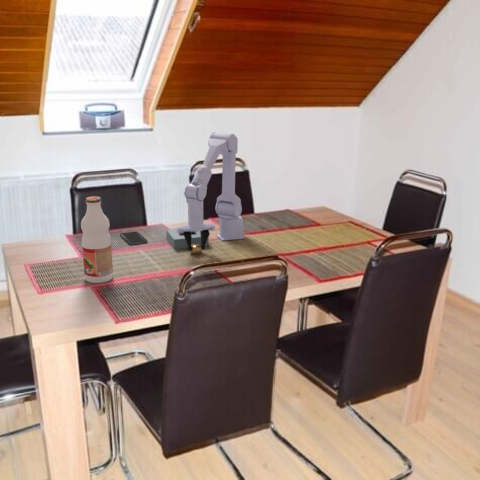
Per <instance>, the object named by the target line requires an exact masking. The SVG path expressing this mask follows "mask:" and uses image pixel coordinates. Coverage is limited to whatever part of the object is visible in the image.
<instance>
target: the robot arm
mask: <svg viewBox="0 0 480 480" xmlns="http://www.w3.org/2000/svg"><path fill="white" fill-rule="evenodd" d="M207 143H208V150H207V153H206V155H205V158H204V161H203V163H202V165H201V166H199V167H197V170H196V171H195V174H194V176H193V179H192V180H191V182H190V183H189V184H188V185H186V186H185V189H184V192H183V194H184V197H185V200H186V203H187V218H188V219H187V222H188V225H185V226H184V225H183V226H179V227H176V229H177V233H178V234H181V233H183V235H184V237H185V239H186V242H187V245H188V248H187V249H188V251H189V252H191V249H192V248H191V238H192V236H191V233H190V232H198V231H200V234H201V245H202V251H205V247H206V246H205V243H206V241H207V238H208V236H209V237H210V235H211V233H210V232H211V231H212V232H213V231H216V226H215V225H214V224H204V200H205V198H206V197H207V193H208V192H207V190H208V184H209V181H210V180H211V178H212V175H213V172H212V168H213V167H214V165H215V164H216V162H217V160H218V158H219V157H220V155H221V156H222V167H221V168H222V169H221V170H222V171H221V172H222V173H221V174H222V177H221V179H222V181H221V185H222V186H221V194H220V195H219V196H218V197H216V204H215V208H214V209H215V212H216V214H217V215H218V217H219V233H218V234H216V236H217V237H218V238H219V239H220V240H221V241H232V240H233V241H234V240H244V220H243V217H242V216H241V215H242V210H243V208H242V207H243V206H242V199H241V198H240V197H239V196H238V195H237V194H236V190H235V189H236V162H237V161H236V160H237V159H236V155H237V154H238V143H239V141H238V137H237V136H236V135H235V134H234V133H222V132H215V131H213V132H211V134H210V136H209V138H208V141H207ZM218 217H217V218H218Z"/></svg>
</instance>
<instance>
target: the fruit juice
mask: <svg viewBox="0 0 480 480" xmlns="http://www.w3.org/2000/svg"><path fill="white" fill-rule="evenodd" d="M85 203H86V212H85V215H84V216H83V217H82V218H81V221H80V228H81V230H82V237H81V249H82V259H83V260H82V261H83V262H82V263H83V273H84V280H85V281H86V282H88V283H90V284H91V283H92V284H103V283H106V282H109V281H111V280H112V279H113V277H114V268H113V267H114V266H113V252H112V250H113V249H112V239H111V235H110V232H109V231H110V226H111V225H110V219H109V218H108V217H107V215H106V214H104V212H103V208H102V206H101V205H102V198H101V197H100V196H96V195H95V196H88V197H86V198H85Z"/></svg>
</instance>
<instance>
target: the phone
mask: <svg viewBox="0 0 480 480" xmlns="http://www.w3.org/2000/svg"><path fill="white" fill-rule="evenodd" d="M119 236H120V237H121V238H122V239H123V241H125V243H126V244H127V245H129V246H136V245H143V244H147V243H148V240H147V238H145V237H144V235H142V234H141V233H140V232H139V231H129V232H128V231H127V232H121V233H120V234H119Z"/></svg>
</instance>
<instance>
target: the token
mask: <svg viewBox="0 0 480 480" xmlns="http://www.w3.org/2000/svg"><path fill="white" fill-rule="evenodd" d="M191 248H192V249H191V251H190V255H192V256H200V255H202V254H203V250H202V245H200V244H193V245H191Z"/></svg>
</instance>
